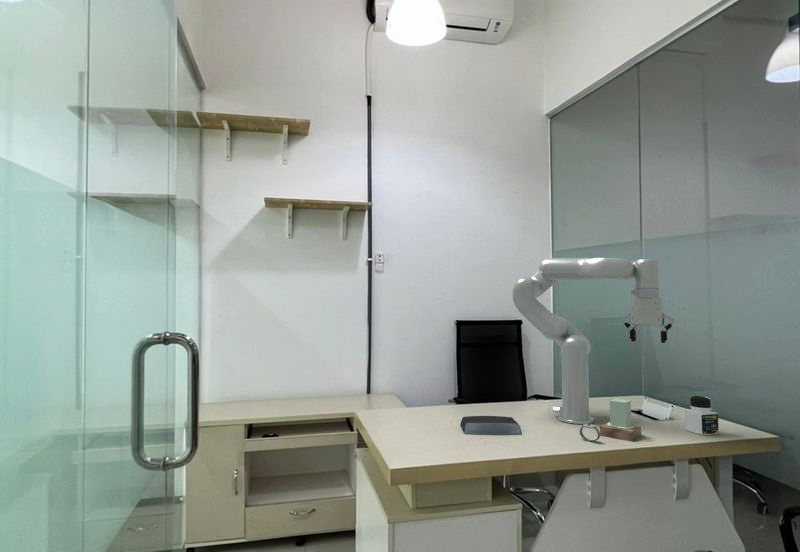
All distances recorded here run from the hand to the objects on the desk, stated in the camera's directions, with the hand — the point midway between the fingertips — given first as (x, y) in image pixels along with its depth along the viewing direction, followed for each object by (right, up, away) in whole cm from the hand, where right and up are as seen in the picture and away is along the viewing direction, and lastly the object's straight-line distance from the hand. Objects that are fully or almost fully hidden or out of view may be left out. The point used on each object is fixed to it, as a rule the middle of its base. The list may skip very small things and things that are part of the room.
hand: (648, 341), depth 168 cm
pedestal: (-15, -30, -10) cm, 35 cm away
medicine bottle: (+16, -30, -5) cm, 35 cm away
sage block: (-14, -26, -10) cm, 32 cm away
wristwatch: (-28, -29, -17) cm, 44 cm away
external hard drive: (-57, -30, -5) cm, 65 cm away
